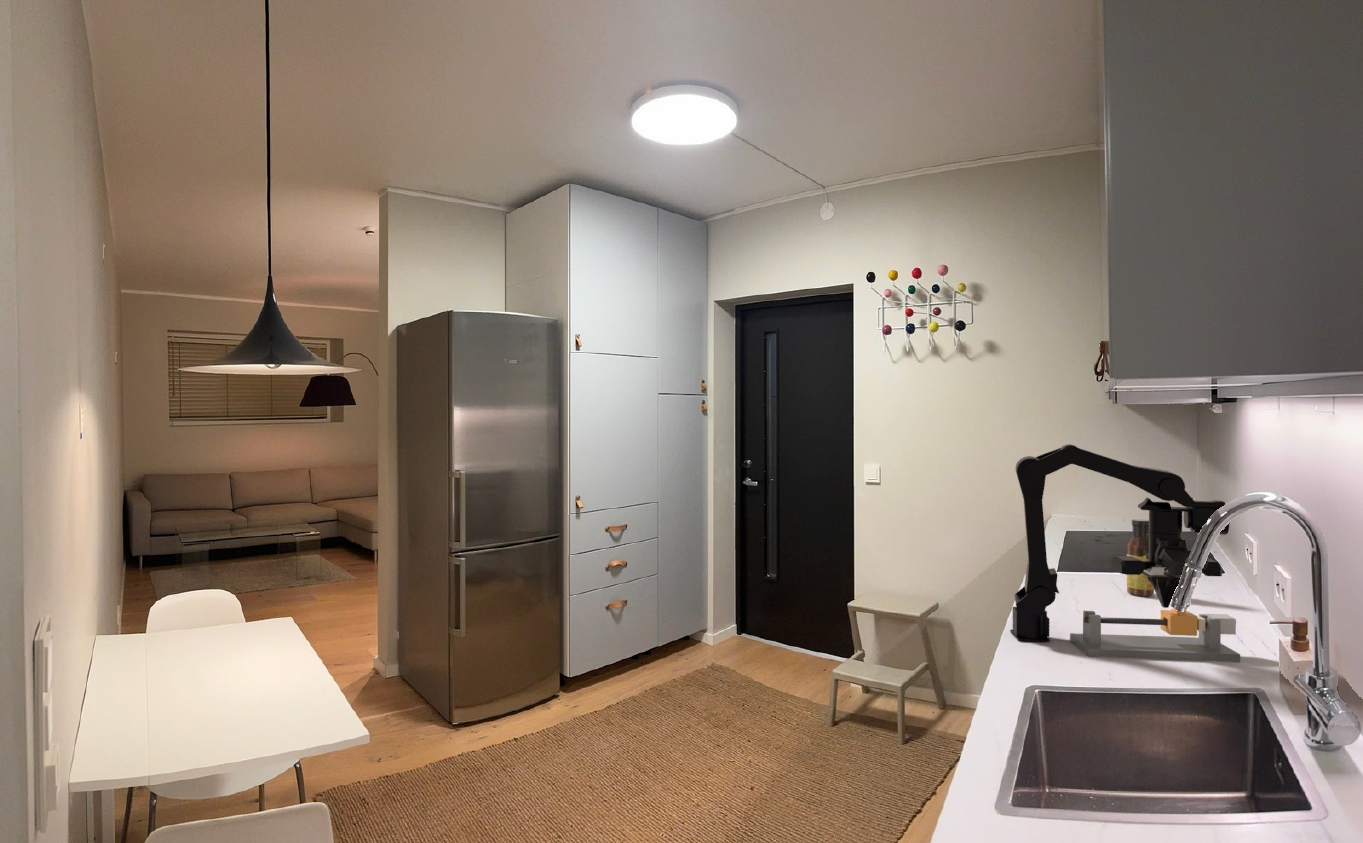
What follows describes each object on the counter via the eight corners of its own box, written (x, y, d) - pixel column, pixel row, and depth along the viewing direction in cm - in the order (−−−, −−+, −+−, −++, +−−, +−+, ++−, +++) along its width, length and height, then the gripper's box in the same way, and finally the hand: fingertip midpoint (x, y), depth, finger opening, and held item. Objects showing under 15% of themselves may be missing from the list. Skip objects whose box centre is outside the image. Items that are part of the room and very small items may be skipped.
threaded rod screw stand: (1088, 656, 149) (1088, 619, 149) (1070, 640, 159) (1070, 605, 158) (1245, 662, 144) (1246, 624, 144) (1216, 645, 154) (1217, 609, 154)
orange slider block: (1170, 635, 149) (1170, 593, 149) (1160, 628, 153) (1160, 588, 153) (1197, 635, 148) (1197, 594, 148) (1186, 629, 152) (1186, 589, 152)
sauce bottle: (1153, 598, 190) (1153, 522, 189) (1125, 595, 194) (1125, 520, 193) (1155, 593, 195) (1155, 519, 195) (1128, 589, 199) (1128, 517, 198)
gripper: (1134, 538, 144) (1134, 617, 144) (1239, 540, 141) (1238, 620, 142) (1110, 529, 155) (1110, 602, 155) (1206, 530, 152) (1206, 604, 153)
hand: (1165, 607), depth 151 cm, fingers closed
